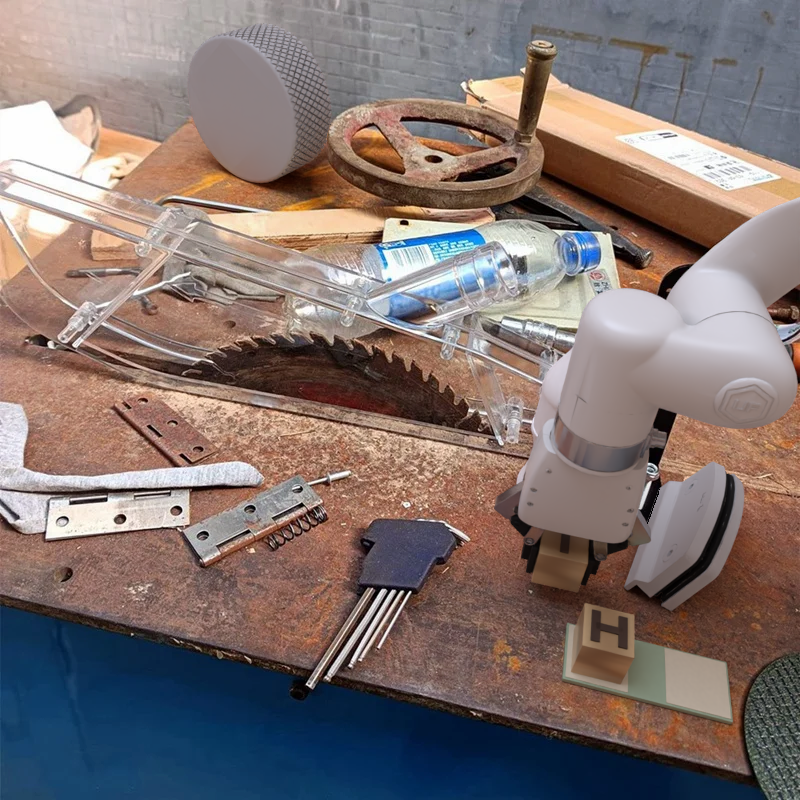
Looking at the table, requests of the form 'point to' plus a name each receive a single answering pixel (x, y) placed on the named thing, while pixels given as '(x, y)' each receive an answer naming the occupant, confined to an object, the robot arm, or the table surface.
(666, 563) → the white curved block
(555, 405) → the water bottle
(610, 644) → the tile
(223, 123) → the knob
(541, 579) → the tile
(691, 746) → the table surface
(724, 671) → the word board
